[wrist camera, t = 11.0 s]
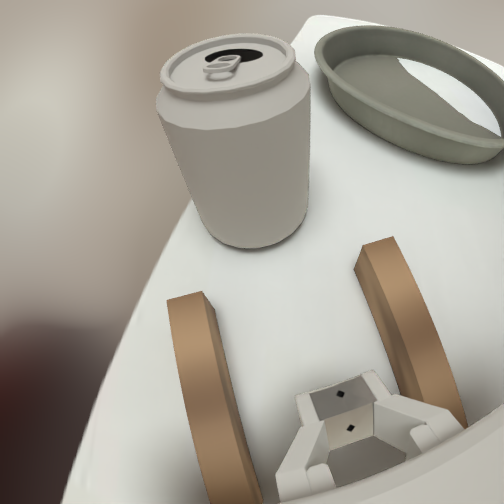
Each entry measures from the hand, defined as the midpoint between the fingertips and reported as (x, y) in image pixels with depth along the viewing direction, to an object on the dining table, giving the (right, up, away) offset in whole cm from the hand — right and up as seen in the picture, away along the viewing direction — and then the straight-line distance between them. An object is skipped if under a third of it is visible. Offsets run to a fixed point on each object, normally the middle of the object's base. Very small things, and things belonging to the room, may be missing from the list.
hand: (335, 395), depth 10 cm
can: (-3, +8, +12) cm, 15 cm away
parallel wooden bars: (0, -2, +6) cm, 6 cm away
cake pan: (+16, +22, +18) cm, 33 cm away
